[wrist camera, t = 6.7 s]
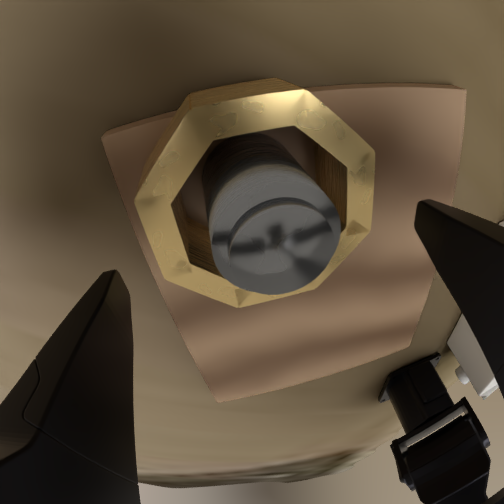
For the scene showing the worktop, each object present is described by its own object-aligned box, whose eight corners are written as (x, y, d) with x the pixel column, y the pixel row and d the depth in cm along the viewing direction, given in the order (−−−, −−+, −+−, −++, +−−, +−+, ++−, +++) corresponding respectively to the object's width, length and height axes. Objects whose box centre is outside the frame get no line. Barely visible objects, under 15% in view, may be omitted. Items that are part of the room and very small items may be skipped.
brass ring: (337, 234, 15) (365, 275, 12) (180, 270, 14) (182, 320, 12) (332, 72, 10) (375, 84, 8) (129, 109, 10) (110, 131, 7)
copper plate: (403, 338, 24) (408, 346, 23) (215, 391, 23) (217, 402, 22) (453, 85, 12) (466, 89, 11) (106, 130, 11) (100, 137, 10)
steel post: (296, 207, 13) (345, 287, 9) (212, 225, 13) (228, 316, 9) (289, 125, 11) (349, 179, 7) (193, 143, 11) (198, 210, 7)
